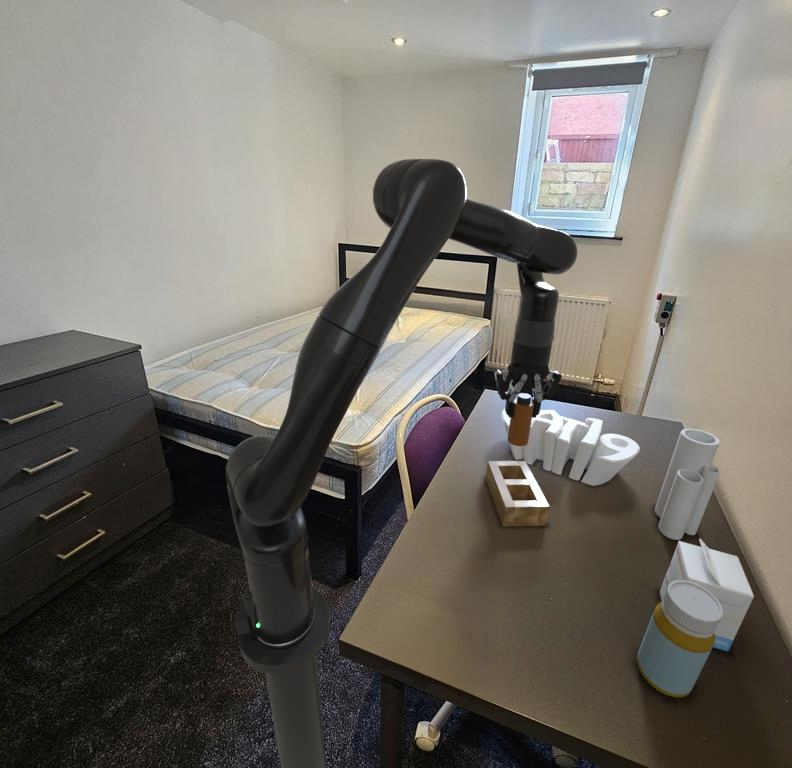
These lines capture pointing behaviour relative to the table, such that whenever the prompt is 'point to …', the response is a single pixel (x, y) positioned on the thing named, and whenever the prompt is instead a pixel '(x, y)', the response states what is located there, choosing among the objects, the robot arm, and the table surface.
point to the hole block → (516, 494)
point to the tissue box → (714, 584)
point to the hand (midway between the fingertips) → (521, 415)
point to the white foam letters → (574, 447)
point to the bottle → (679, 638)
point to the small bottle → (521, 420)
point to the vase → (688, 484)
